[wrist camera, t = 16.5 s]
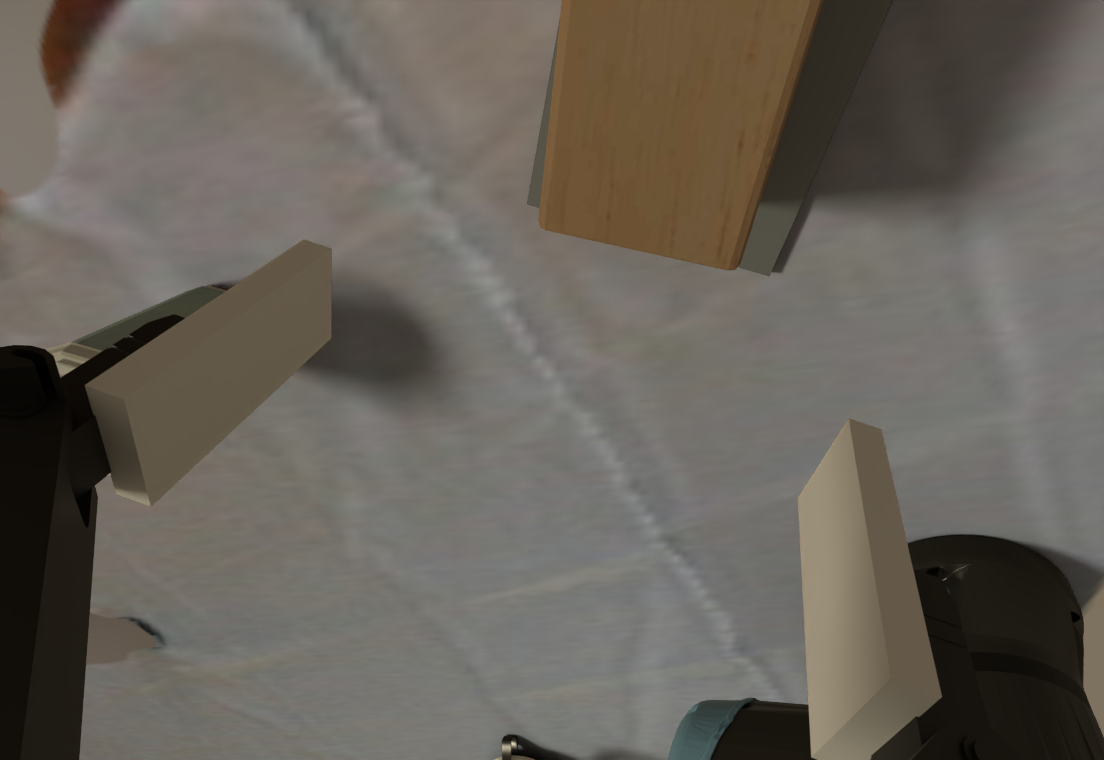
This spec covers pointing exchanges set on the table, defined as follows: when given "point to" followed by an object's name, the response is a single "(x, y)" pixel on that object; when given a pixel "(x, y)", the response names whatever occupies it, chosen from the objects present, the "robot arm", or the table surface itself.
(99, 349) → the disposable coffee cup
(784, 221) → the mat
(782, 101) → the wooden block
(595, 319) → the table surface
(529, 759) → the coffee press
